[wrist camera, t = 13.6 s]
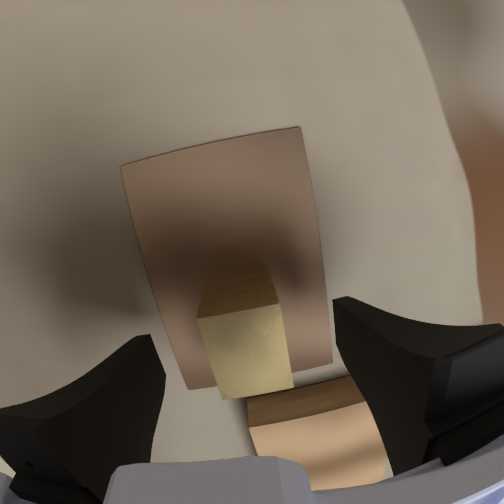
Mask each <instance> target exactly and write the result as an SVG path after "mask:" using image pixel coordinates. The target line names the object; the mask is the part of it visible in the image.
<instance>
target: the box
mask: <svg viewBox="0 0 504 504" xmlns="http://www.w3.org/2000/svg"><path fill="white" fill-rule="evenodd" d="M247 411H248V426H249V431H250V434H251V437H252V440H253V443H254V446H255V449H256V452H257V455H258V456H277V457H280V458H283V459H287V460H290V461H294V462H297V463H299V464H300V465H301V467H302V468H303V469H304V470H305V471H306V473H307V474H308V478H309V482H310V487H311V491H314V490H327V489H337V488H346V487H354V486H361V485H367V484H373V483H377V482H380V481H382V479H383V475H384V470H385V466H386V461H387V453H386V450H385V447H384V444H383V441H382V439H381V436H380V433H379V430H378V428H377V425H376V423H375V420H374V418H373V415H372V413H371V411H370V408H369V406H368V404H367V402H366V401H365V399H364V397H363V395H362V394H361V392H360V390H359V389H358V387H357V385H356V383H355V382H354V380H353V378H352V376H351V375H350V376H346V377H342V378H339V379H335V380H331V381H327V382H323V383H319V384H315V385H310V386H306V387H302V388H297V389H292V390H288V391H283V392H278V393H273V394H267V395H262V396H256V397H250V398H247Z"/></svg>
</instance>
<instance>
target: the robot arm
mask: <svg viewBox="0 0 504 504" xmlns="http://www.w3.org/2000/svg"><path fill="white" fill-rule="evenodd" d="M332 301H333V312H334V323H335V335H336V345H337V347H338V350H339V352H340V355H341V357H342V360H343V362H344V364H345V366H346V368H347V370H348V371H349V373H350V375H351V376H352V378H353V380H354V382H355V383H356V385H357V387H358V389H359V390H360V392H361V394H362V395H363V397H364V399H365V401H366V402H367V404H368V406H369V408H370V411H371V413H372V415H373V418H374V420H375V423H376V425H377V428H378V430H379V433H380V436H381V439H382V441H383V444H384V447H385V450H386V453H387V456H388V459H389V462H390V465H391V468H392V471H393V475H394V476H393V477H391V478H388V479H385V480H382V481H380V482H377V483H373V484H367V485H361V486H354V487H346V488H337V489H327V490H314V491H311V487H310V482H309V478H308V474H307V473H306V471H305V470H304V469H303V468H302V467H301V465H300V464H299V463H297V462H294V461H290V460H287V459H283V458H280V457H277V456H246V457H238V458H230V459H220V460H209V461H196V462H176V463H150V458H151V448H152V442H153V437H154V433H155V429H156V425H157V421H158V417H159V413H160V410H161V406H162V402H163V397H164V391H165V381H166V373H165V371H164V369H163V366H162V364H161V361H160V359H159V356H158V354H157V351H156V348H155V346H154V343H153V341H152V338H151V335H150V334H147V335H140V336H136V337H134V338H132V339H131V340H129V341H128V342H127V343H125V344H124V345H123V346H121V347H120V348H119V349H118V350H116V351H115V352H114V353H113V354H111V355H110V356H109V357H108V358H106V359H105V360H104V361H103V362H101V363H100V364H98V365H97V366H96V367H94V368H93V369H92V370H90V371H89V372H88V373H86V374H85V375H83V376H82V377H80V378H78V379H77V380H75V381H73V382H72V383H70V384H68V385H66V386H64V387H62V388H60V389H58V390H56V391H54V392H52V393H50V394H48V395H45V396H43V397H40V398H37V399H35V400H32V401H29V402H25V403H22V404H18V405H14V406H9V407H5V408H1V409H0V455H1V457H2V458H3V459H4V460H5V461H6V462H7V464H8V465H9V466H10V467H11V468H12V469H13V470H14V471H15V472H16V474H15V476H14V478H11V477H10V476H8V475H6V474H4V473H1V472H0V504H504V326H502V325H501V324H489V325H478V326H450V325H440V324H431V323H425V322H420V321H416V320H411V319H407V318H404V317H401V316H398V315H394V314H391V313H389V312H386V311H383V310H381V309H378V308H376V307H373V306H371V305H369V304H366V303H364V302H362V301H359V300H357V299H354V298H352V297H349V296H345V297H341V298H337V299H333V300H332Z"/></svg>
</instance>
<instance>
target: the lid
mask: <svg viewBox="0 0 504 504" xmlns="http://www.w3.org/2000/svg"><path fill="white" fill-rule="evenodd" d="M120 168H121V173H122V178H123V182H124V187H125V191H126V195H127V200H128V204H129V208H130V212H131V216H132V220H133V224H134V228H135V232H136V235H137V239H138V243H139V246H140V250H141V254H142V257H143V261H144V264H145V267H146V271H147V274H148V277H149V281H150V284H151V287H152V290H153V293H154V297H155V300H156V303H157V306H158V309H159V312H160V315H161V318H162V321H163V324H164V327H165V329H166V332H167V335H168V338H169V341H170V343H171V346H172V349H173V352H174V354H175V357H176V360H177V362H178V365H179V367H180V370H181V373H182V375H183V378H184V380H185V383H186V385H187V388H188V390H192V389H200V388H208V387H215V386H218V389H219V392H220V394H221V397H222V400H228V399H235V398H241V397H247V396H253V395H259V394H264V393H269V392H275V391H280V390H284V389H289V388H294V384H293V378H292V373H293V372H297V371H302V370H306V369H310V368H315V367H319V366H323V365H327V364H331V363H333V358H332V345H331V334H330V323H329V313H328V303H327V294H326V285H325V276H324V268H323V260H322V252H321V245H320V238H319V230H318V224H317V217H316V210H315V204H314V197H313V191H312V185H311V179H310V173H309V168H308V162H307V156H306V151H305V146H304V140H303V135H302V130H301V127H297V128H290V129H283V130H277V131H271V132H265V133H259V134H253V135H248V136H243V137H237V138H232V139H227V140H222V141H218V142H213V143H208V144H204V145H199V146H195V147H191V148H187V149H183V150H178V151H174V152H170V153H167V154H163V155H159V156H155V157H151V158H148V159H144V160H141V161H137V162H134V163H130V164H127V165H123V166H120Z"/></svg>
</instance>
